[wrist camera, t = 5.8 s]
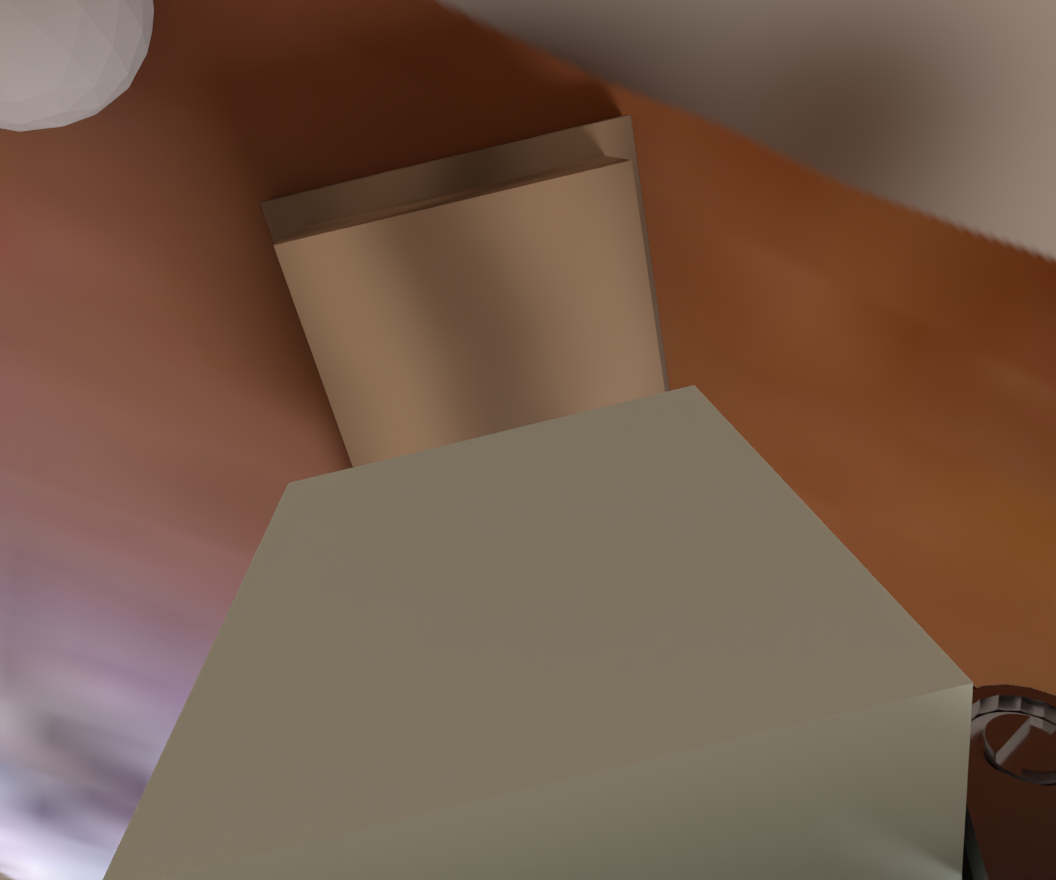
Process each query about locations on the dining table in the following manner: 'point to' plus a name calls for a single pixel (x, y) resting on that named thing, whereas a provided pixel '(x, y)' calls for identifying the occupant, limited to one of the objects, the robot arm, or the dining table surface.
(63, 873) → the dining table surface
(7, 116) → the perfume bottle
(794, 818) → the cream block
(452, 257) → the walnut pedestal
